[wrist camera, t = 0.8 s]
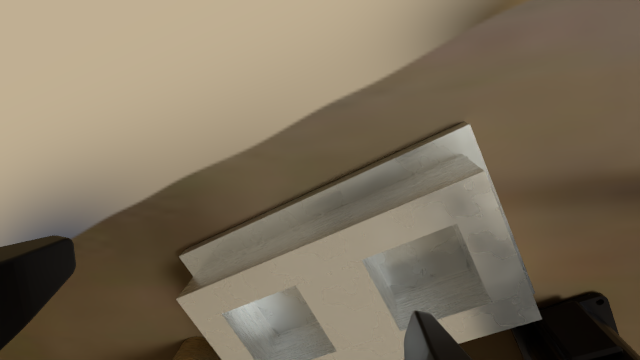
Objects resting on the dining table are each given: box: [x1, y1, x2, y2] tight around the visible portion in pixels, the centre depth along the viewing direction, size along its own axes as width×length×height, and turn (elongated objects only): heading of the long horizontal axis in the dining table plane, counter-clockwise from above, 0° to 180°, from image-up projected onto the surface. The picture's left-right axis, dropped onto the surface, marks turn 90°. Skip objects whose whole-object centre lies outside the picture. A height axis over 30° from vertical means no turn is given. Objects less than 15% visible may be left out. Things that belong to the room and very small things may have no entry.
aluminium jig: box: [176, 122, 542, 360], centre depth 22 cm, size 13×22×4 cm, turn 118°
